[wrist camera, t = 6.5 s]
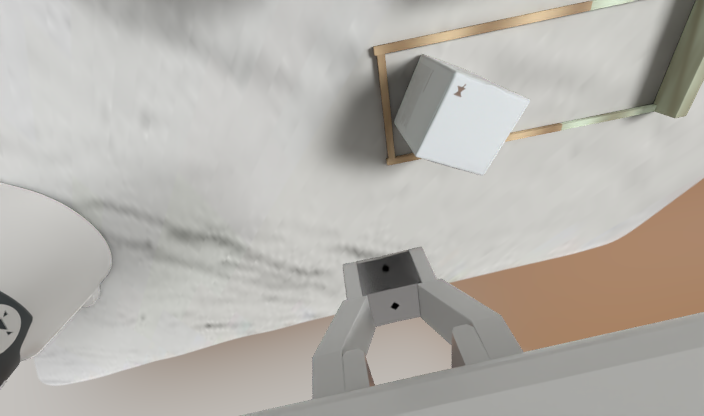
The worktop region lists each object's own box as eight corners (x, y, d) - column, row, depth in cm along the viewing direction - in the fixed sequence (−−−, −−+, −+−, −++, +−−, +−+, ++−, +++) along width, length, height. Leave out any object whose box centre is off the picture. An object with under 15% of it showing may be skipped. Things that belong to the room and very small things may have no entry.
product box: (391, 122, 27) (412, 157, 21) (420, 51, 24) (455, 68, 18) (449, 140, 29) (483, 177, 23) (483, 76, 26) (534, 99, 20)
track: (386, 163, 29) (391, 175, 28) (372, 46, 23) (378, 51, 22) (661, 108, 29) (686, 115, 27) (718, -27, 23) (756, -29, 21)
